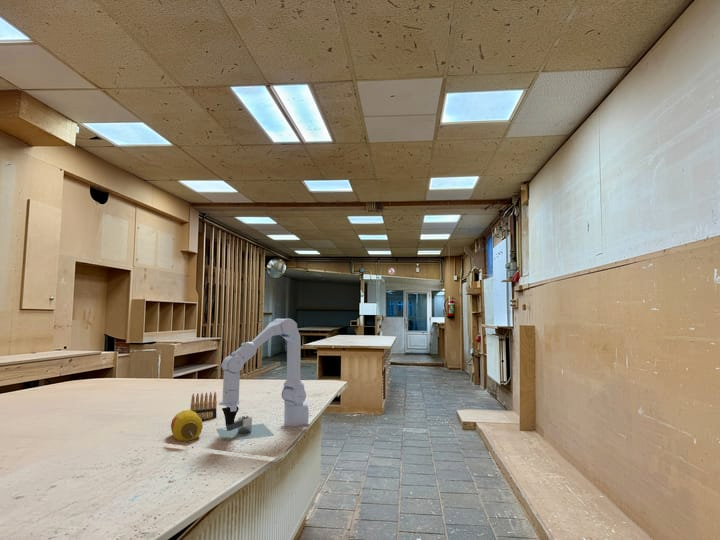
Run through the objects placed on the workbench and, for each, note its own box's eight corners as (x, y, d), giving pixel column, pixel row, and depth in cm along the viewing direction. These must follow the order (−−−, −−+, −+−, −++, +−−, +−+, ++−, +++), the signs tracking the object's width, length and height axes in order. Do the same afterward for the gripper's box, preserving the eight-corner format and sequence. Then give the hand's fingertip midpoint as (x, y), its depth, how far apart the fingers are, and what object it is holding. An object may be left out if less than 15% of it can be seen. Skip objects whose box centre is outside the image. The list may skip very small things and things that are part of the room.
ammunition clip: (189, 423, 168) (191, 393, 169) (189, 422, 169) (190, 393, 171) (216, 420, 173) (217, 391, 174) (215, 419, 174) (217, 391, 176)
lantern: (172, 402, 157) (182, 419, 132) (198, 405, 162) (212, 422, 136) (164, 429, 155) (172, 451, 129) (190, 431, 160) (203, 454, 134)
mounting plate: (263, 426, 163) (263, 423, 163) (274, 438, 147) (274, 434, 147) (216, 432, 155) (216, 428, 156) (222, 445, 139) (222, 441, 139)
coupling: (242, 428, 155) (243, 414, 155) (254, 430, 153) (254, 415, 154) (221, 437, 143) (222, 422, 143) (233, 439, 141) (234, 423, 142)
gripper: (217, 387, 153) (215, 424, 151) (222, 393, 140) (220, 434, 138) (236, 385, 156) (234, 422, 154) (243, 392, 143) (241, 432, 141)
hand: (229, 427), depth 147 cm, fingers closed, pressing on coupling
